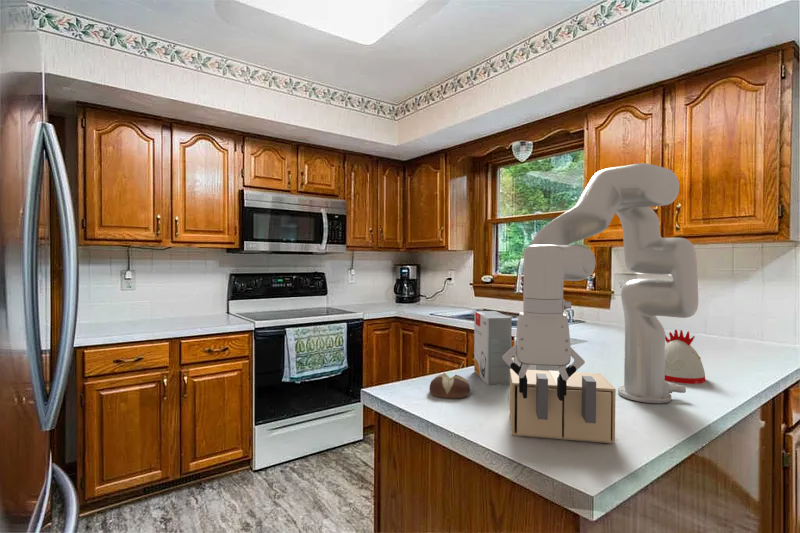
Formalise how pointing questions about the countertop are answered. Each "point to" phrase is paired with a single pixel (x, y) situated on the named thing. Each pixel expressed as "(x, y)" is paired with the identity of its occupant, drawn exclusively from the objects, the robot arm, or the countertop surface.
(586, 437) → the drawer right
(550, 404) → the flap left
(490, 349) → the hard drive box
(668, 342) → the kitchen timer
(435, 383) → the bread
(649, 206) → the robot arm
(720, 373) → the countertop surface
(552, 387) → the carton
